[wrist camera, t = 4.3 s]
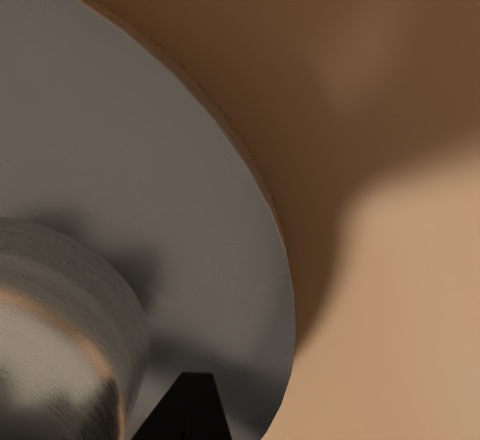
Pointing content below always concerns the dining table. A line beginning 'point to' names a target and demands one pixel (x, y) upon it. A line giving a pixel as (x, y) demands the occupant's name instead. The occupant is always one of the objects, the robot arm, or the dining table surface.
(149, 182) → the platter
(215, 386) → the robot arm
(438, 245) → the dining table surface
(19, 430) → the cover
